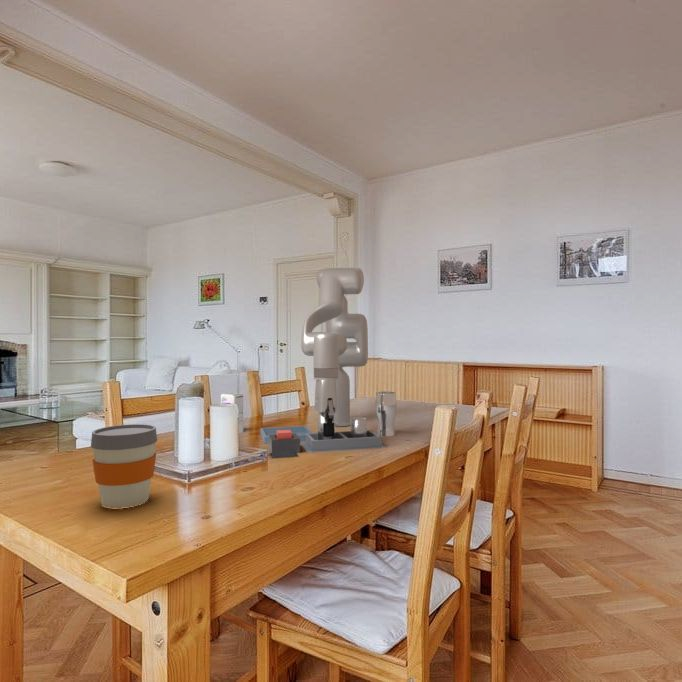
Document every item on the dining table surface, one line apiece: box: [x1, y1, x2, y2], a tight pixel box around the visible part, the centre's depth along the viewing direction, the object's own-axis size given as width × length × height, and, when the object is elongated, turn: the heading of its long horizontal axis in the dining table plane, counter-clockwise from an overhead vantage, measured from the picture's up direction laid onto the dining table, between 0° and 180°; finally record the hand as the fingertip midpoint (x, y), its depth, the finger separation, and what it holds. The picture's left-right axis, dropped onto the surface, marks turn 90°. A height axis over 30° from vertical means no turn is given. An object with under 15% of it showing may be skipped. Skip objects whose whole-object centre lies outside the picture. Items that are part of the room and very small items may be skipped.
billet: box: [317, 412, 336, 440], centre depth 145 cm, size 5×5×8 cm
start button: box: [276, 430, 292, 439], centre depth 140 cm, size 4×4×3 cm
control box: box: [268, 433, 301, 459], centre depth 140 cm, size 8×8×5 cm
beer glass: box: [375, 390, 397, 437], centre depth 163 cm, size 7×7×15 cm
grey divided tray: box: [300, 429, 388, 454], centre depth 147 cm, size 13×24×4 cm, turn 104°
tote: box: [259, 425, 313, 445], centre depth 159 cm, size 16×16×3 cm
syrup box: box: [220, 392, 244, 435], centre depth 166 cm, size 6×6×14 cm
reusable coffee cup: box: [90, 423, 158, 508], centre depth 100 cm, size 13×13×15 cm
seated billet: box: [349, 416, 368, 438], centre depth 148 cm, size 5×5×8 cm
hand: (326, 433), depth 145 cm, fingers closed on billet, 5 cm apart
